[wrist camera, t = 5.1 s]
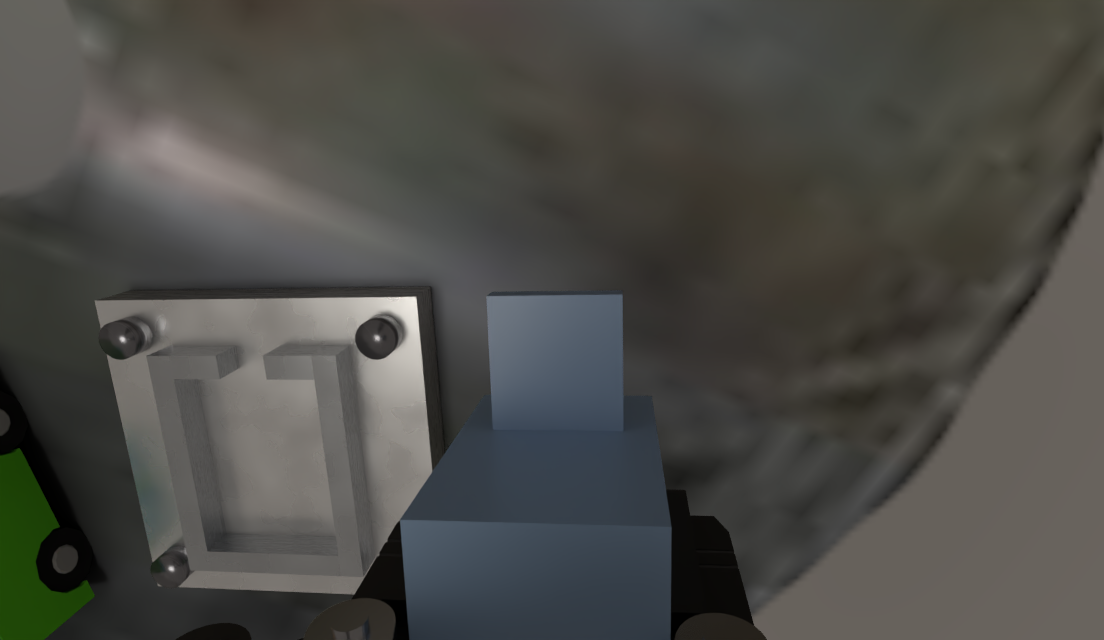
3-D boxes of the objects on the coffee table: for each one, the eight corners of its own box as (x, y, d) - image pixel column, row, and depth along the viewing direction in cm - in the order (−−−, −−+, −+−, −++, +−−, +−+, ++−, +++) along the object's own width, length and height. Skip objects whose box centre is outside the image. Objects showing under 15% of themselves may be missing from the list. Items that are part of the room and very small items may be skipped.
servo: (478, 280, 14) (385, 338, 8) (651, 278, 13) (672, 337, 8) (498, 695, 15) (434, 962, 10) (651, 704, 15) (667, 985, 10)
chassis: (129, 290, 29) (67, 308, 26) (430, 286, 28) (404, 305, 24) (185, 560, 33) (137, 606, 30) (454, 570, 31) (435, 619, 28)
